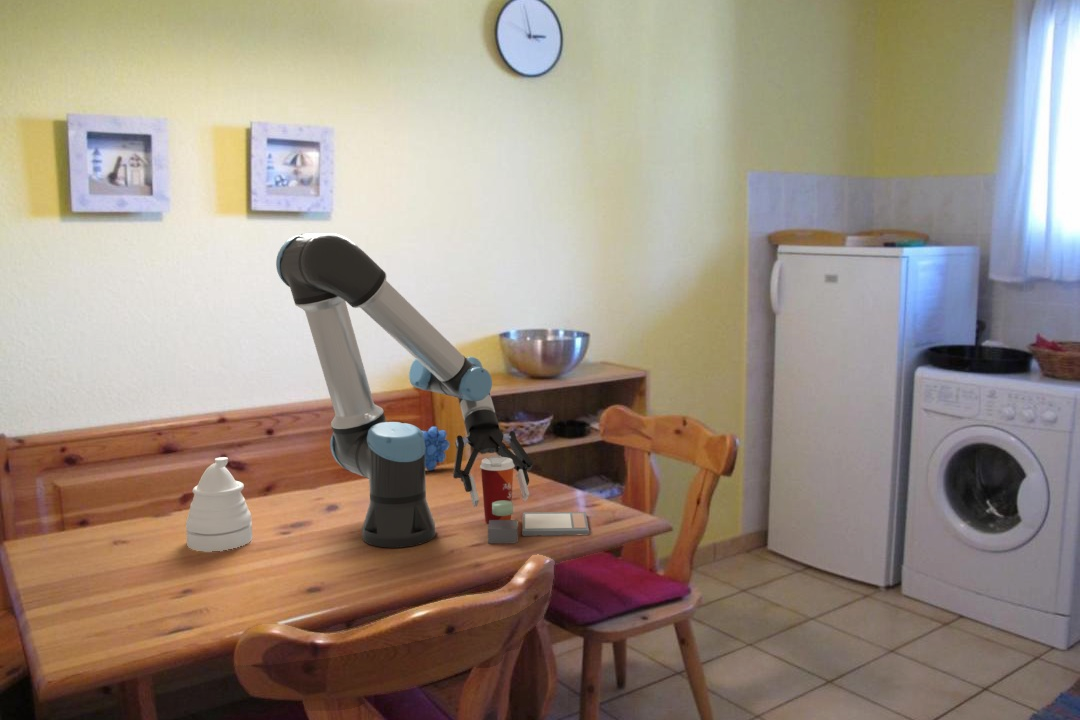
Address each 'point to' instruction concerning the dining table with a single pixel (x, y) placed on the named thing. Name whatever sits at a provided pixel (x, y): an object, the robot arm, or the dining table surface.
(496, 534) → the button housing
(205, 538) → the honey pot
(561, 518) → the picture board
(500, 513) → the button
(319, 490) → the dining table surface
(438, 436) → the grapes
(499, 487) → the paper cup
